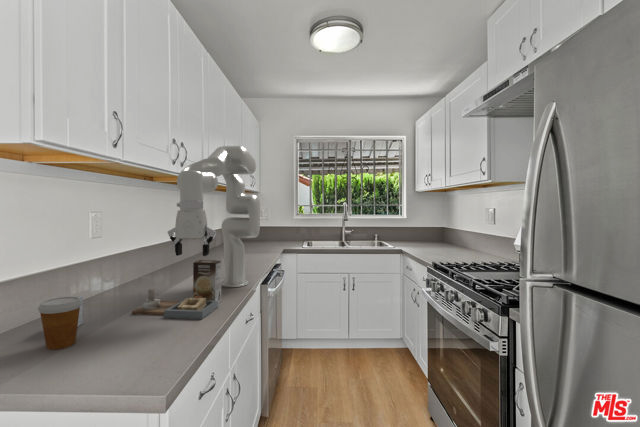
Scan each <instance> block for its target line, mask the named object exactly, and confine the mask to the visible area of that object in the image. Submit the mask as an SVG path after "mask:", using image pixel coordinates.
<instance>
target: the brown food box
mask: <svg viewBox="0 0 640 427" xmlns="http://www.w3.org/2000/svg"><path fill="white" fill-rule="evenodd" d="M192 266H193V267H192V268H193V270H192V273H193V274H192V275H193V278H192V283H193V284H192V286H193V287H192V298H194V297H195V296H202V298H206V300H208V301H218V304H219V303H220V302H221V301H222V286H221V282H222V260H214V259H213V260H212V259H199V260H196V261H194V262H193V265H192Z"/></svg>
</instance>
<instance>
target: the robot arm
mask: <svg viewBox="0 0 640 427" xmlns="http://www.w3.org/2000/svg"><path fill="white" fill-rule="evenodd" d="M256 168H257V163H256V159H255V158H254V156H253V155H252V154H251V153H250V151H249V150H248V149H247V148H245V147H244V146H243V145H242V146H241V145H224V146H223V145H222V146H219V147H217V148H216V149H215V150H214V151H213V152H212V153H211V154H210V155H209V156H208V157H207V158H204V159H202V160H201V159H200V160H198V161H196V162H193V163H191V164H189V165H187V166H185V168H183V169H182V170H181V171H180V172H179V174H178V176H177V179H176V186H177V188H178V189H179V202H177V203H176V207H179V209H180V210H177V213H176V215H175V224H174V225H175V226H174V227H173V228H171V229H170V230H168V231H167V235H168V237H169V239H170V240H171V241H172V243H173V245H174V251H175V252H174V253H175V256H176V257H177V256H182V255H183V244H182V243H181V242H182V241H183V240H201V242H202V243H203V244H202V256H203V257H206V256H208V255H209V254H210V244H211V243H212V242H213V241H214V239H215V238H216V236H217V231H216V230H214V229H213V228H210V227H209V226H208V218H207V215H206V210H205V209H204V193H212V192H214V191H216V189H217V188H218V186H219V181H218V177H220V176H222V177H223V179H224V181H225V185H226V192H225V196H226V197H225V210H226V212H227V213H228V214H229V215H240V216H241V215H245V216H247V215H248V217H243V216H242V217H237V216H236V217H233V216H232V217H231V216H230V217H228V218H227V217H226V218H225V219H223V220H222V223H221V232H222V239H223V281H222V280H221V287H223V288H239V287H240V288H241V287H245V286H248V285H249V281H248V280H246V273H245V272H246V271H245V270H246V268H245V264H246V262H245V261H246V258H245V257H246V256H245V255H246V254H245V253H246V250H245V245H244V243H243V241H242V239H253V238H257V237H258V236H259V234H260V228H261V201H260V198H259V196H257V195H256V194H251V193H250V194H248V193H247V194H246V189H245V188H246V184H245V182H244V180H243V179H242V177H241V176H240V175H247V176H248V175H252V174H254V173H255V172H256ZM208 233H209V234H210V236H209V237H208V235H209V234H208Z"/></svg>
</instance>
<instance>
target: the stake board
mask: <svg viewBox="0 0 640 427" xmlns="http://www.w3.org/2000/svg"><path fill="white" fill-rule="evenodd" d="M147 296H148V298H147V299H145V300H142V306H140V307H138V308H135V309H133V310H132V311H131V315H145V316H146V315H148V316H150V315H151V316H165V314H164V310H166V309H168V308H170V307H172V306H173V305H175V304H177V303H179V302H181V301H182V300H163V299H162V300H161V299H160V298H155V288H150V289H147Z"/></svg>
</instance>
